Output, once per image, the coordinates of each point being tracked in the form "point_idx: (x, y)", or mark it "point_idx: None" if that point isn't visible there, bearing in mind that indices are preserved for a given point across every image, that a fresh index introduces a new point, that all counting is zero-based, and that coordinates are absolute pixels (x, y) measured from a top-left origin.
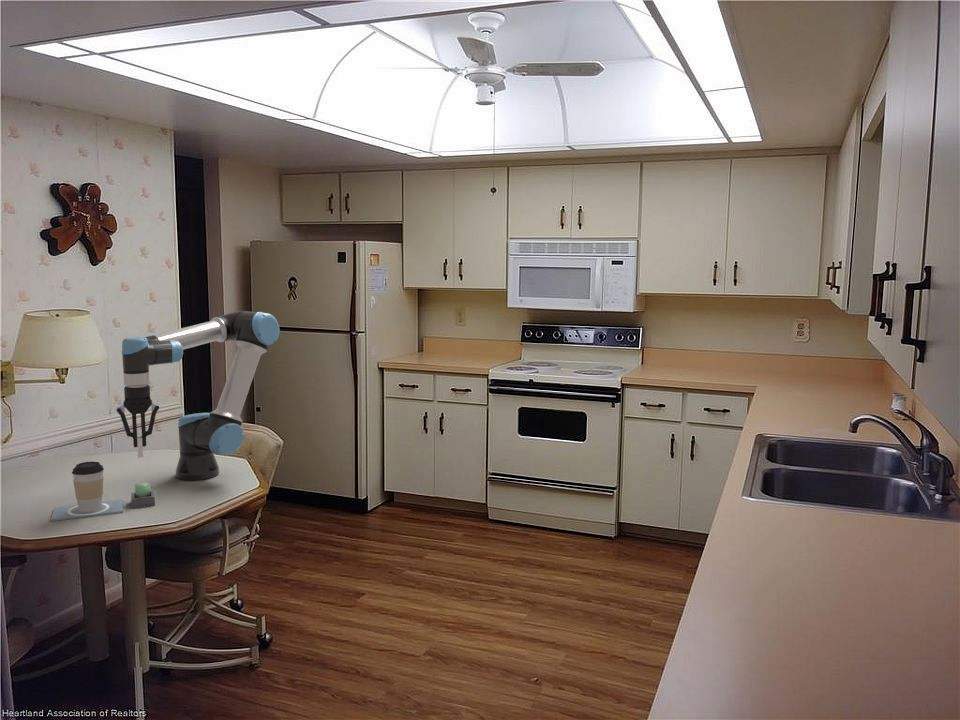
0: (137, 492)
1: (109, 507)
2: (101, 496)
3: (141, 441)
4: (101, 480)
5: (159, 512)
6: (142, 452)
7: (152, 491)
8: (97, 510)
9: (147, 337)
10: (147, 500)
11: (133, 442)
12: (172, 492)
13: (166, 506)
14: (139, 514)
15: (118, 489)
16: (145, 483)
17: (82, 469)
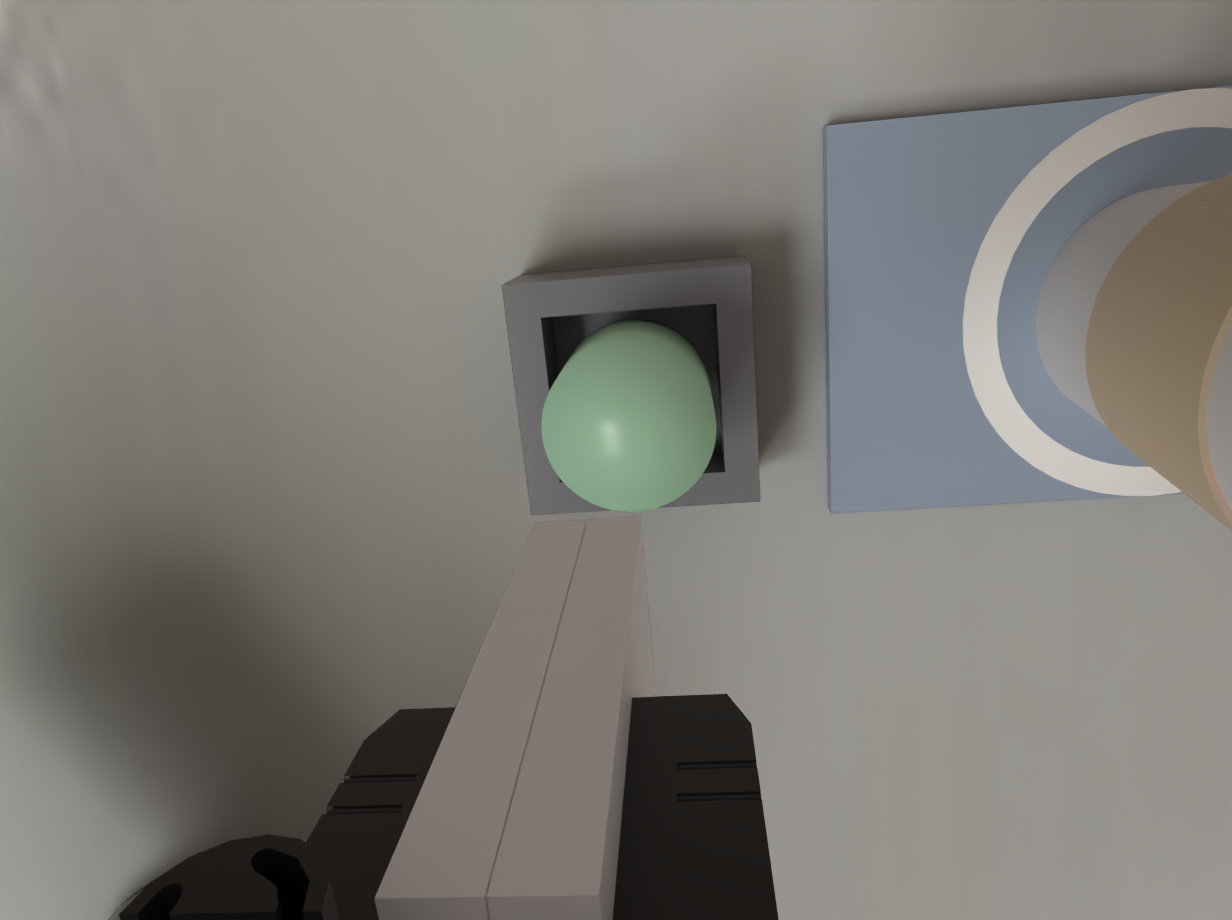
0: (685, 350)
1: (961, 297)
2: (1100, 290)
3: (458, 776)
4: (1228, 285)
5: (453, 13)
6: (522, 569)
7: (543, 483)
8: (1085, 219)
9: None
10: (582, 276)
11: (760, 811)
12: (404, 625)
13: (406, 207)
14: (653, 8)
15: (874, 851)
16: (591, 449)
17: None
